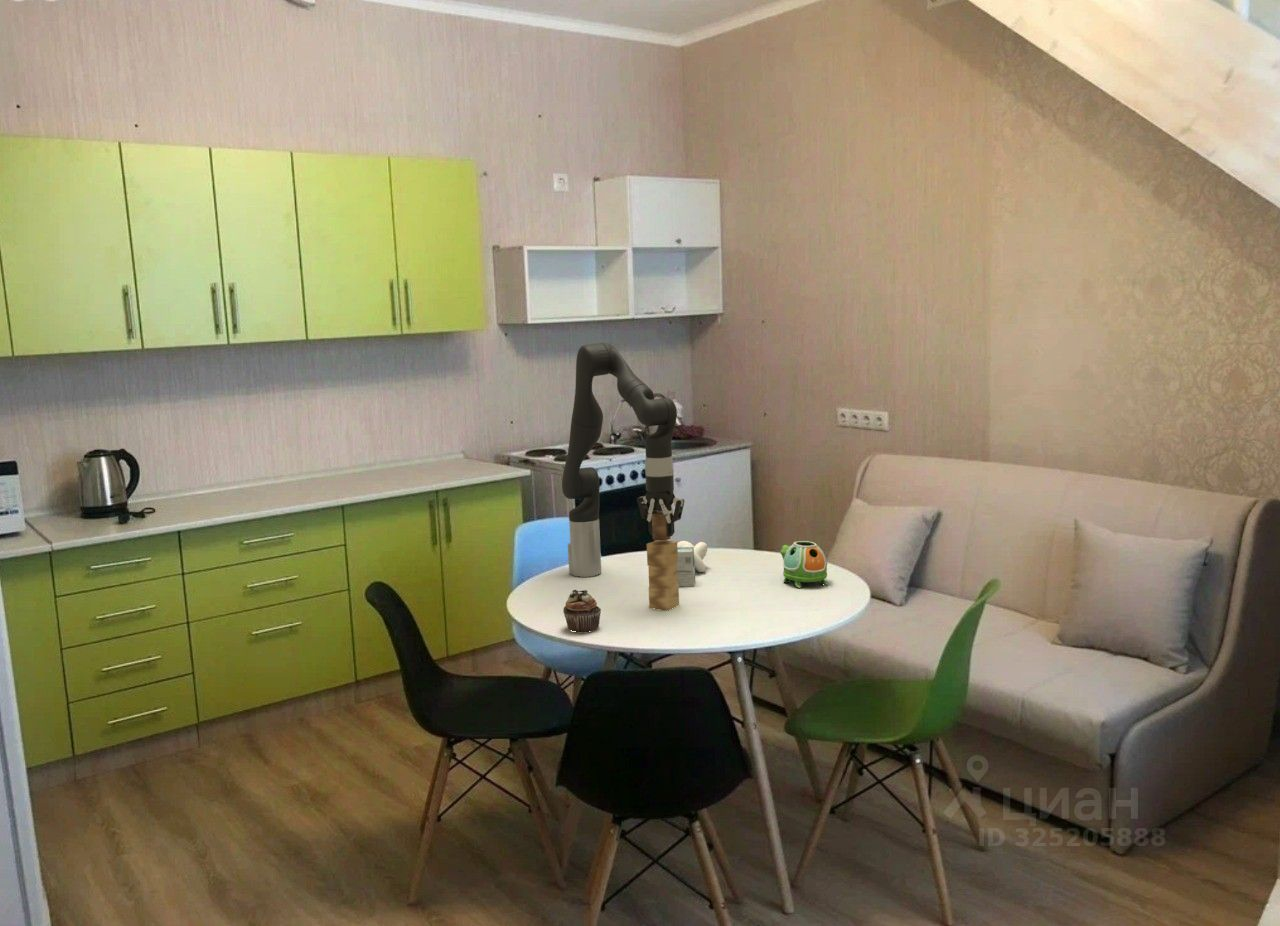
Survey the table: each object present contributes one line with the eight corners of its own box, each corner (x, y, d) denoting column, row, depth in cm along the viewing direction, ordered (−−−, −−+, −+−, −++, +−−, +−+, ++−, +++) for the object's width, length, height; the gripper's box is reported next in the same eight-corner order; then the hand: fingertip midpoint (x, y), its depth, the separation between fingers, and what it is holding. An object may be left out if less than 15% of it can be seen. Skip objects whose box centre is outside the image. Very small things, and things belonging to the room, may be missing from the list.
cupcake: (602, 633, 260) (600, 594, 259) (564, 635, 259) (562, 596, 258) (601, 621, 270) (599, 584, 268) (564, 624, 269) (562, 586, 267)
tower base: (649, 608, 280) (648, 587, 279) (660, 602, 285) (659, 581, 284) (668, 611, 277) (667, 589, 276) (679, 605, 282) (678, 584, 281)
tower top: (647, 565, 278) (646, 543, 278) (659, 560, 283) (658, 539, 282) (666, 567, 275) (665, 546, 274) (677, 562, 280) (677, 541, 279)
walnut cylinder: (649, 539, 277) (648, 514, 276) (658, 536, 281) (657, 510, 280) (664, 541, 275) (664, 515, 274) (673, 537, 279) (672, 512, 278)
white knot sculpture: (667, 575, 314) (666, 547, 313) (674, 566, 325) (673, 538, 324) (703, 576, 311) (702, 547, 310) (709, 566, 323) (708, 538, 322)
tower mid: (649, 587, 278) (648, 566, 278) (657, 582, 284) (656, 560, 283) (669, 589, 276) (669, 567, 275) (677, 583, 282) (676, 562, 281)
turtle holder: (802, 571, 312) (801, 533, 310) (836, 585, 295) (835, 545, 294) (767, 577, 307) (766, 538, 305) (799, 591, 291) (798, 550, 289)
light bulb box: (695, 581, 306) (694, 545, 305) (694, 587, 300) (693, 551, 298) (659, 581, 308) (658, 546, 306) (658, 587, 301) (656, 551, 299)
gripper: (629, 474, 276) (631, 536, 278) (676, 476, 269) (678, 540, 271) (643, 469, 282) (645, 530, 285) (689, 472, 275) (691, 534, 278)
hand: (661, 535), depth 278 cm, fingers closed on walnut cylinder, 4 cm apart
